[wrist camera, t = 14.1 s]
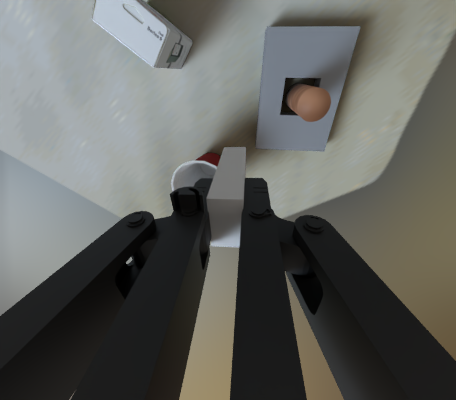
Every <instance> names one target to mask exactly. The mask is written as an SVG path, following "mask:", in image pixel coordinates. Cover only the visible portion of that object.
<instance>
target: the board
mask: <svg viewBox="0 0 456 400" xmlns="http://www.w3.org/2000/svg"><path fill="white" fill-rule="evenodd" d="M360 27H361V26H301V27H267V28H266V32H265V43H264V54H263V65H262V76H261V87H260V98H259V109H258V120H257V132H256V143H255V145H256V149H278V150H302V151H324V150H325V147H326V143H327V140H328V137H329V133H330V130H331V126H332V123H333V119H334V116H335V113H336V109H337V106H338V102H339V99H340V96H341V92H342V89H343V85H344V82H345V78H346V75H347V72H348V68H349V65H350V61H351V58H352V54H353V51H354V48H355V44H356V41H357V37H358V34H359V31H360ZM285 78H316V80H315V84H314V87H318V88H323V89H325V90H326V91H327V92H328V93H329V95H330V97H331V105H330V108H329V111H328V112H327V114H326V115H325V116H324V117H323V118H321V119H320V120H318V121H315V122H308V121H305V120H303V119H302V118H301V117H300V116H299V115H298V114H296V113H287V112H281V105H282V98H283V91H284V84H285Z"/></svg>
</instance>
